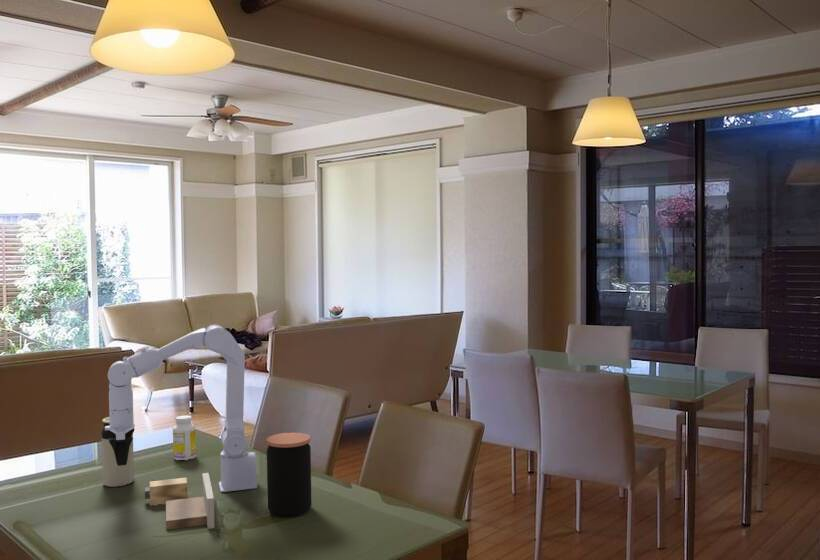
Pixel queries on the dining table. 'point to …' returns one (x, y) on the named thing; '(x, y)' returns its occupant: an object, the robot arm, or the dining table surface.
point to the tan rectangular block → (166, 490)
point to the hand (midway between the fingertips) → (122, 460)
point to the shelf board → (208, 500)
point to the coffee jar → (289, 474)
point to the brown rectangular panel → (185, 513)
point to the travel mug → (111, 470)
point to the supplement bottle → (184, 439)
